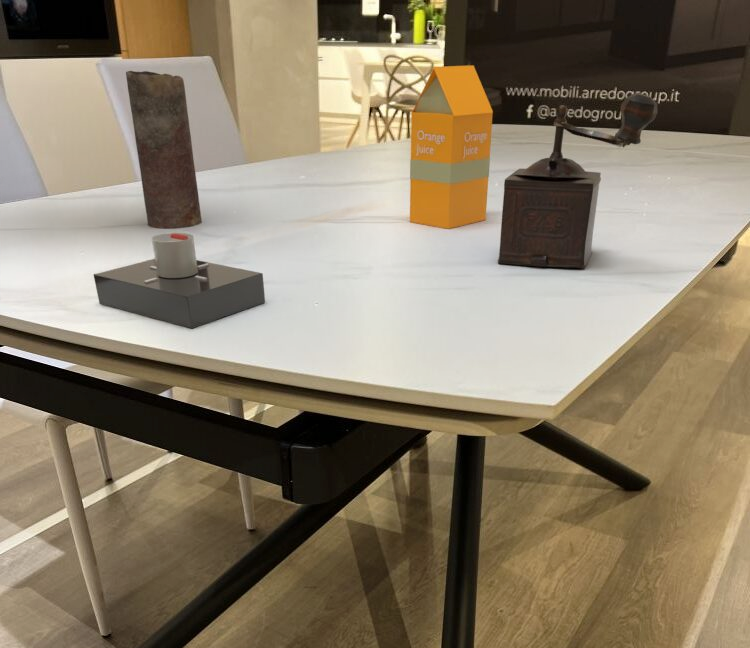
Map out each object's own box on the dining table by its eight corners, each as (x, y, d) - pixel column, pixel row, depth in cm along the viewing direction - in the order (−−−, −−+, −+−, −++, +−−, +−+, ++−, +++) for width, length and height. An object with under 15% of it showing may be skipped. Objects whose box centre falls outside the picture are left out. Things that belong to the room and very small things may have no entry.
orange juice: (408, 221, 110) (411, 66, 100) (447, 213, 116) (452, 65, 105) (449, 229, 106) (455, 67, 95) (487, 220, 111) (497, 65, 101)
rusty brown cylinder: (170, 227, 109) (147, 69, 98) (214, 230, 106) (195, 69, 96) (138, 238, 103) (110, 71, 92) (183, 242, 100) (159, 71, 90)
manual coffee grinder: (493, 265, 88) (506, 93, 79) (510, 244, 97) (523, 87, 88) (629, 275, 84) (660, 94, 74) (633, 253, 93) (661, 88, 83)
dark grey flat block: (99, 303, 76) (92, 272, 75) (174, 281, 83) (169, 253, 82) (191, 328, 69) (187, 294, 68) (265, 302, 76) (262, 271, 74)
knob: (149, 274, 74) (142, 235, 72) (179, 266, 77) (174, 228, 75) (175, 280, 72) (169, 240, 70) (206, 271, 75) (201, 232, 73)
